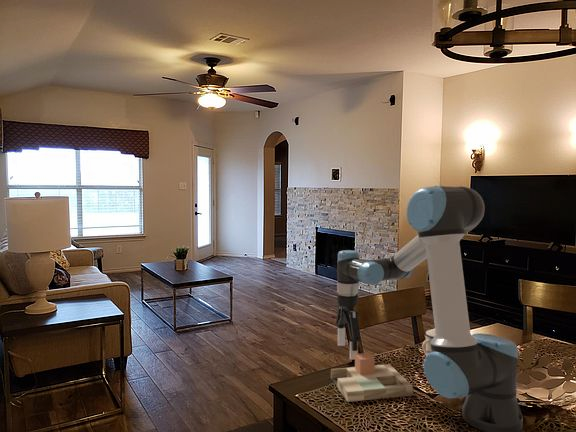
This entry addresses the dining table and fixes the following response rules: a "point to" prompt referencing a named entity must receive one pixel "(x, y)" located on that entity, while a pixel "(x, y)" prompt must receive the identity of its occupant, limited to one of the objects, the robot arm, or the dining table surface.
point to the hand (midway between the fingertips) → (347, 352)
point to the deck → (371, 383)
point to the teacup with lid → (428, 341)
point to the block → (365, 363)
